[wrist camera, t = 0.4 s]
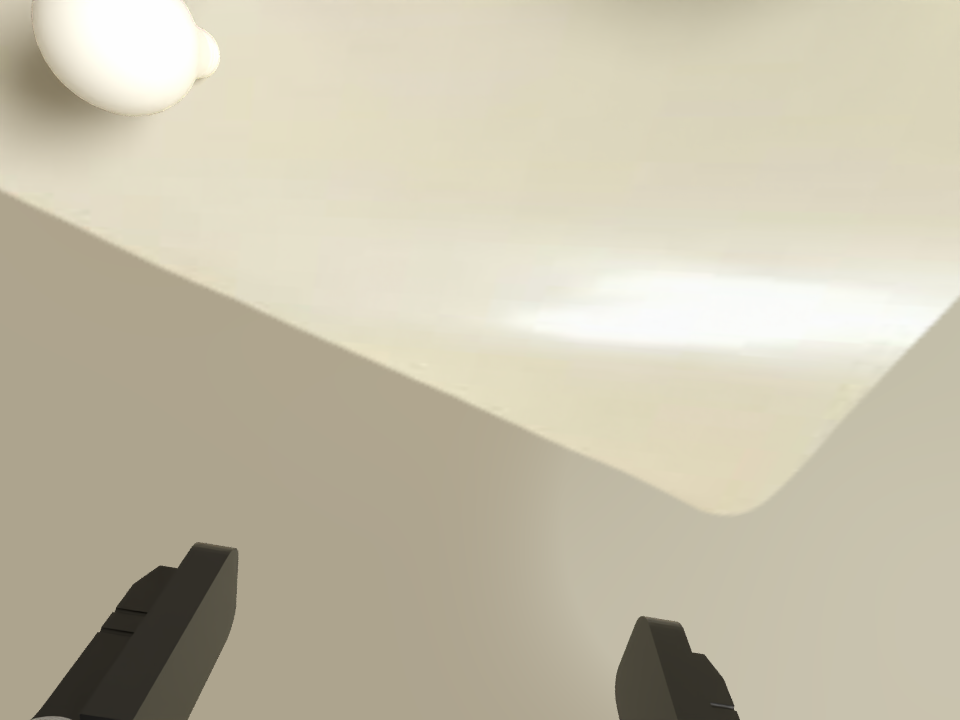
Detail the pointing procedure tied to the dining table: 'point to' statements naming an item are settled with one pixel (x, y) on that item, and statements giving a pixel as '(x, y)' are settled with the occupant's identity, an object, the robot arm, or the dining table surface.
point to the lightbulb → (124, 51)
